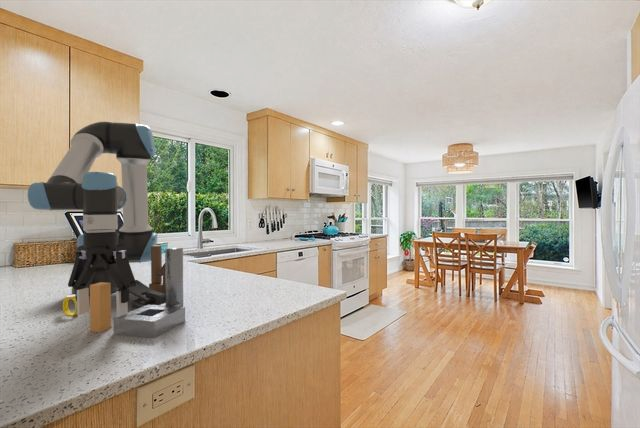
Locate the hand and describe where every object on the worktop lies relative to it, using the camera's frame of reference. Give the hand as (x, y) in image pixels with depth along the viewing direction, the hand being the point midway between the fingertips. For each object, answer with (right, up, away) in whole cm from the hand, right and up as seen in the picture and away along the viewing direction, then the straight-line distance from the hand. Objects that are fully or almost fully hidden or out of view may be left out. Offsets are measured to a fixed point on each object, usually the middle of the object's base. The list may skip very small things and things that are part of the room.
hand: (102, 314), depth 83 cm
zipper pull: (-1, -4, +21) cm, 22 cm away
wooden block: (-2, -4, +37) cm, 37 cm away
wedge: (-1, -4, 0) cm, 4 cm away
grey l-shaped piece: (+12, -4, +5) cm, 14 cm away
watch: (-18, -4, +12) cm, 22 cm away
